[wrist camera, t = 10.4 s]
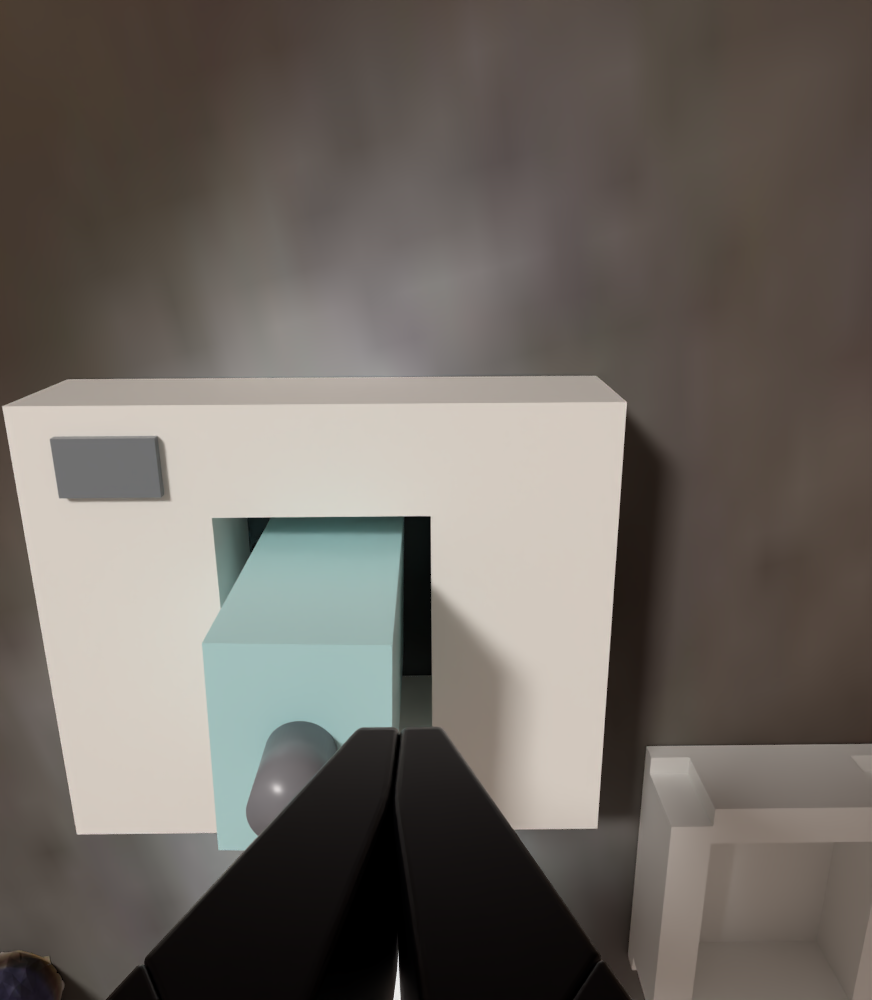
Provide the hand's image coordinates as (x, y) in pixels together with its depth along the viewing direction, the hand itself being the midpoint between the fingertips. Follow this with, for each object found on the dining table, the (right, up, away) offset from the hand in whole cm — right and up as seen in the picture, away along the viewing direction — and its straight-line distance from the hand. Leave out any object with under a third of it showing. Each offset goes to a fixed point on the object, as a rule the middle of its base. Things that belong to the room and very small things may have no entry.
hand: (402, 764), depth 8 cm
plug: (-2, +1, +12) cm, 12 cm away
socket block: (-2, +1, +12) cm, 12 cm away
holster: (+9, -7, +15) cm, 19 cm away
